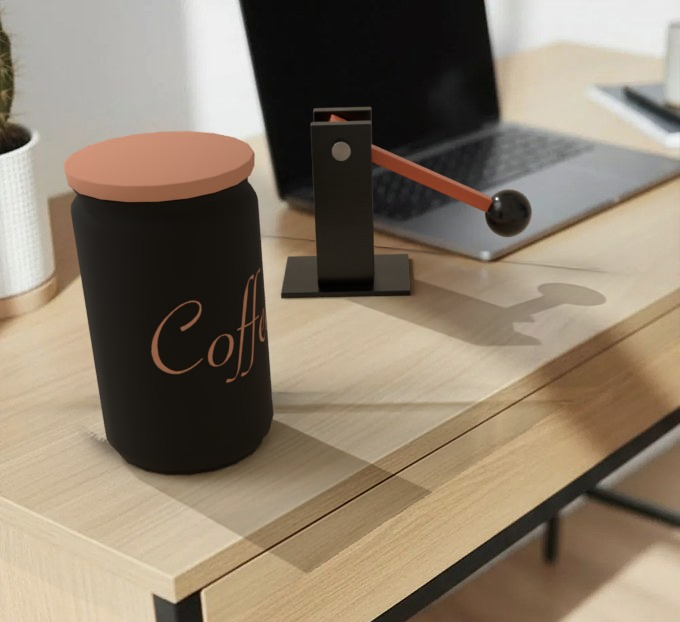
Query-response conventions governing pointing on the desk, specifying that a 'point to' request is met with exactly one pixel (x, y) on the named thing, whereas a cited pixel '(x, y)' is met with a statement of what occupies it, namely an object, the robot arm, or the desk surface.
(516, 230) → the lever with ball knob
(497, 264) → the desk surface
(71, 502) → the desk surface
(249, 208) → the coffee jar
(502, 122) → the desk surface
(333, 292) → the post on base plate
